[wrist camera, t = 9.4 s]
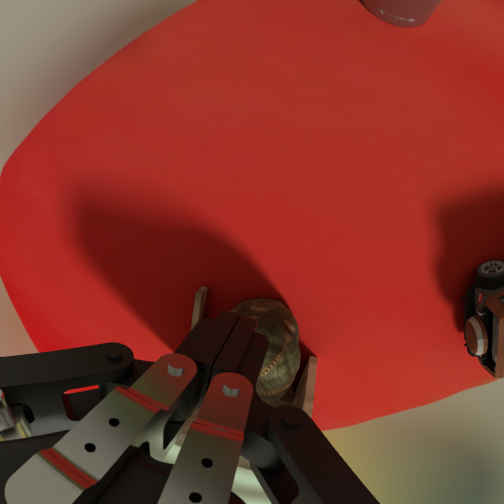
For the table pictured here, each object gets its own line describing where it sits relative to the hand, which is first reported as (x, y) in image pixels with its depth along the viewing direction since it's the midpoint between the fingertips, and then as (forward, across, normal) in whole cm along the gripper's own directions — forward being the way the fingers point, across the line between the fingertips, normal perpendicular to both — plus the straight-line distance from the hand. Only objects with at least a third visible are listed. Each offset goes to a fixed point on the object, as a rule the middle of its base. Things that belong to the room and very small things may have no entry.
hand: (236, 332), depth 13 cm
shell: (+23, 0, +14) cm, 27 cm away
